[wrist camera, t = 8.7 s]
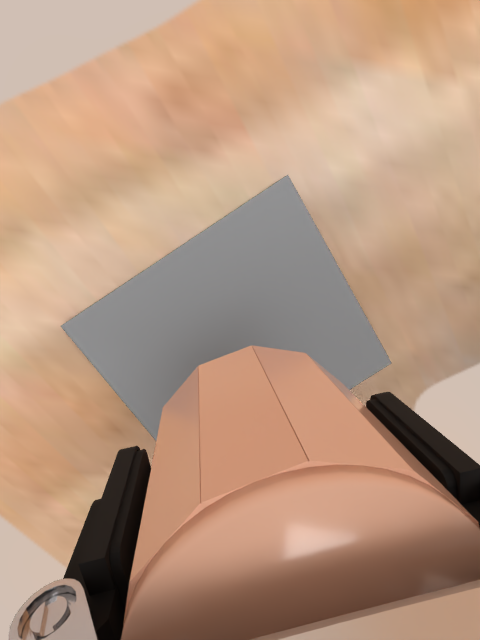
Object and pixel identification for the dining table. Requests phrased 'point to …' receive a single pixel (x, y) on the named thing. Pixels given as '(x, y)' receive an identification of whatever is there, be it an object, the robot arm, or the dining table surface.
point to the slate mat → (229, 306)
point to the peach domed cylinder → (284, 508)
